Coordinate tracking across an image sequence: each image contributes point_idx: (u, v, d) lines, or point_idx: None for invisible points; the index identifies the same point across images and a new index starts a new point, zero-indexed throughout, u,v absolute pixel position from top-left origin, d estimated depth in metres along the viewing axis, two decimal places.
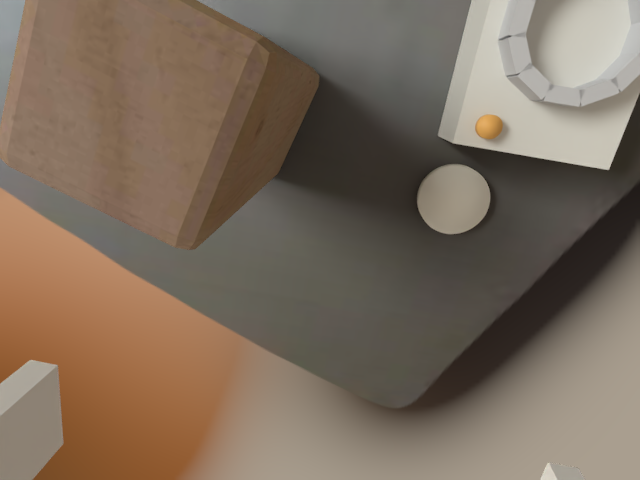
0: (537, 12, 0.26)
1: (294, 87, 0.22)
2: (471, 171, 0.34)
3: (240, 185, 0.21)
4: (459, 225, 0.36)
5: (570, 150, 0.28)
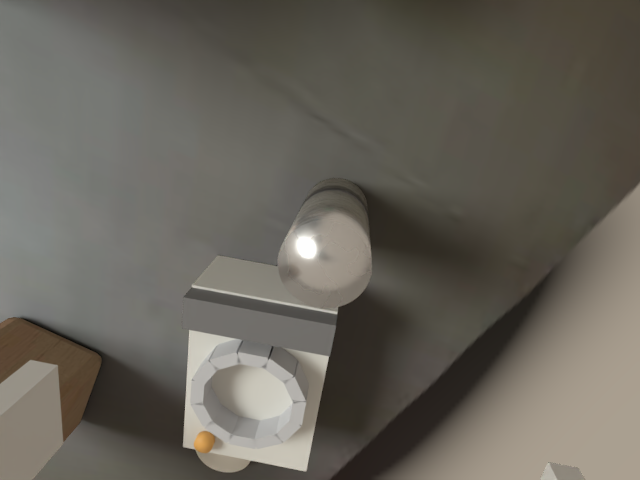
0: (224, 372, 0.33)
1: None
2: None
3: None
4: (231, 467, 0.43)
5: (273, 457, 0.35)
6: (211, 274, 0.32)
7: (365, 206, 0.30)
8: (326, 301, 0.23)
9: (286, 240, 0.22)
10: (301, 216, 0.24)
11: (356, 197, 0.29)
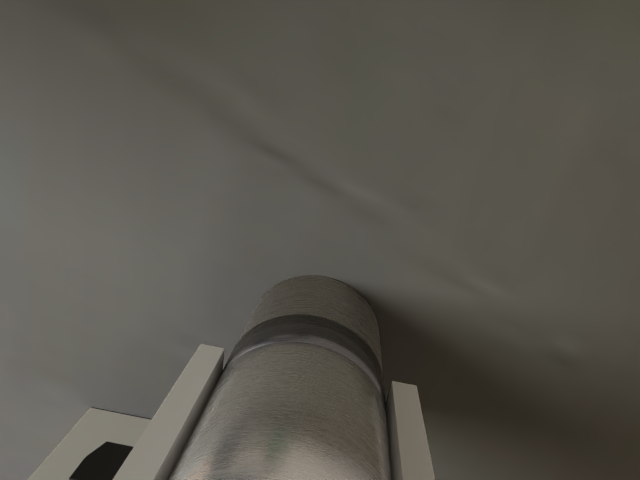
0: None
1: None
2: None
3: None
4: None
5: None
6: None
7: (377, 364, 0.13)
8: None
9: None
10: None
11: (355, 355, 0.12)
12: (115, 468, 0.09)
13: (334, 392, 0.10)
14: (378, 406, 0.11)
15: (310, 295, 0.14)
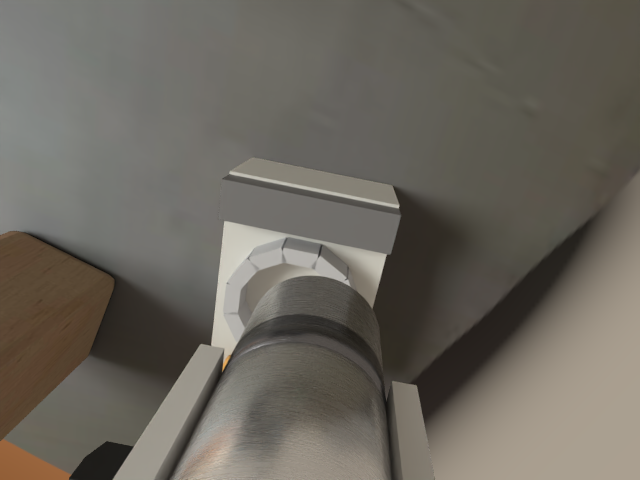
0: (261, 281, 0.29)
1: (0, 384, 0.25)
2: None
3: None
4: None
5: None
6: (250, 167, 0.28)
7: (377, 364, 0.13)
8: None
9: None
10: None
11: (356, 355, 0.12)
12: (115, 468, 0.09)
13: (335, 392, 0.10)
14: (378, 406, 0.11)
15: (310, 295, 0.14)
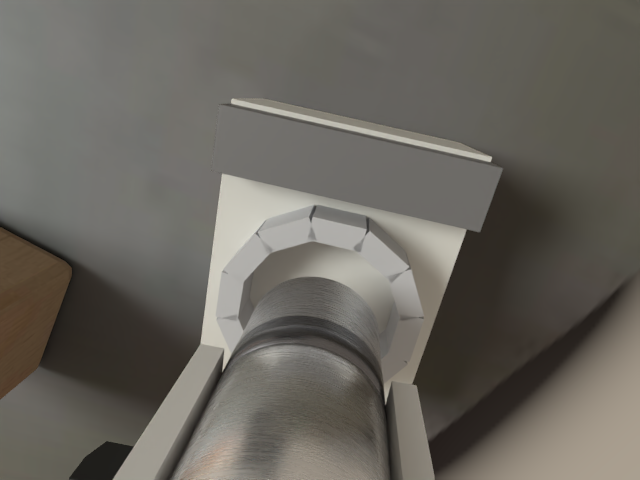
0: (274, 271, 0.19)
1: None
2: None
3: None
4: None
5: None
6: (261, 102, 0.19)
7: (376, 366, 0.13)
8: None
9: None
10: None
11: (355, 357, 0.12)
12: (115, 468, 0.09)
13: (334, 394, 0.10)
14: (378, 407, 0.11)
15: (310, 296, 0.14)
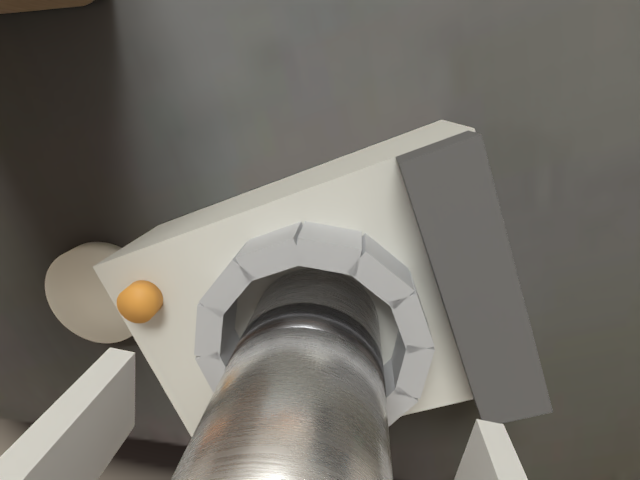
0: None
1: None
2: None
3: None
4: (75, 323, 0.24)
5: (194, 409, 0.19)
6: None
7: (377, 350, 0.13)
8: None
9: None
10: None
11: (357, 340, 0.12)
12: None
13: (337, 372, 0.11)
14: (378, 387, 0.12)
15: (313, 286, 0.15)
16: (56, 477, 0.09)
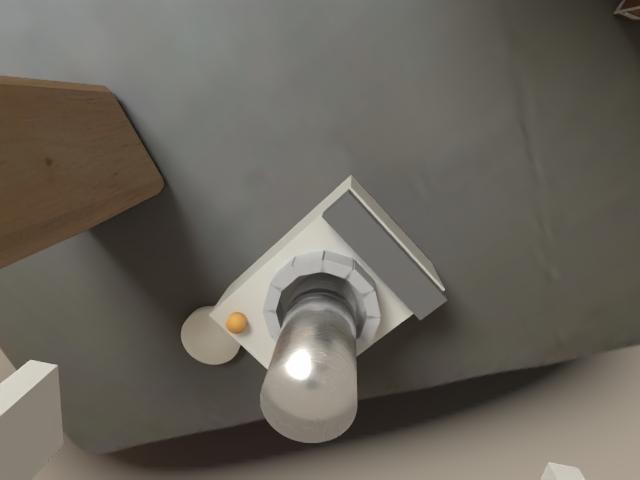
0: None
1: (66, 233, 0.25)
2: None
3: None
4: (204, 357, 0.41)
5: None
6: (357, 189, 0.32)
7: (344, 299, 0.29)
8: (325, 434, 0.22)
9: (262, 392, 0.22)
10: (274, 353, 0.24)
11: (330, 297, 0.28)
12: None
13: (320, 308, 0.27)
14: (342, 311, 0.27)
15: (309, 282, 0.31)
16: None
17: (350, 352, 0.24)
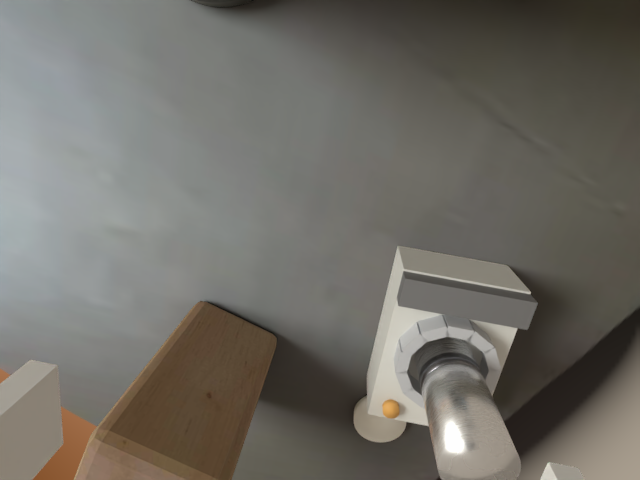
0: None
1: None
2: None
3: None
4: (385, 437, 0.48)
5: None
6: (410, 261, 0.37)
7: (456, 355, 0.34)
8: None
9: (441, 477, 0.27)
10: (431, 438, 0.29)
11: (444, 362, 0.33)
12: None
13: (442, 380, 0.32)
14: (460, 369, 0.32)
15: (423, 354, 0.36)
16: None
17: (485, 406, 0.28)
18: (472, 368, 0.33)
